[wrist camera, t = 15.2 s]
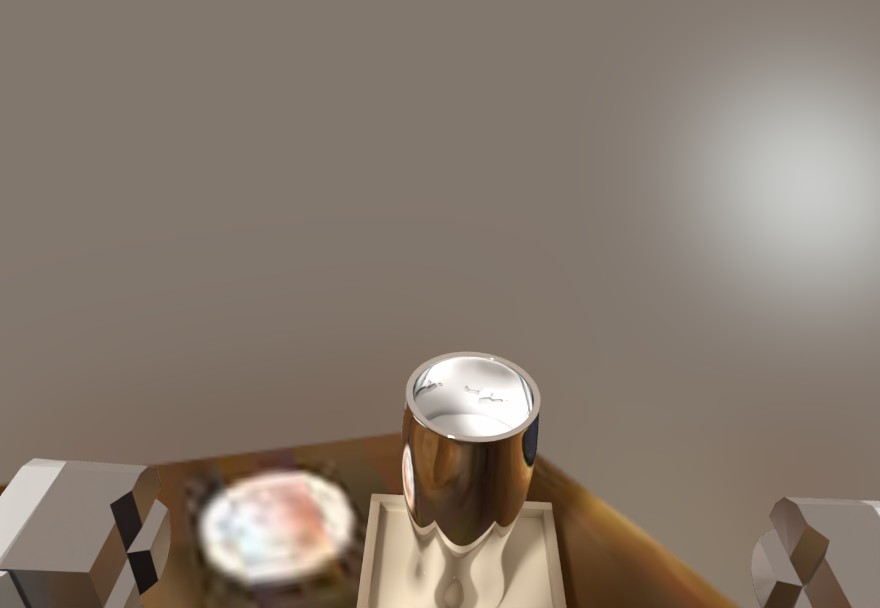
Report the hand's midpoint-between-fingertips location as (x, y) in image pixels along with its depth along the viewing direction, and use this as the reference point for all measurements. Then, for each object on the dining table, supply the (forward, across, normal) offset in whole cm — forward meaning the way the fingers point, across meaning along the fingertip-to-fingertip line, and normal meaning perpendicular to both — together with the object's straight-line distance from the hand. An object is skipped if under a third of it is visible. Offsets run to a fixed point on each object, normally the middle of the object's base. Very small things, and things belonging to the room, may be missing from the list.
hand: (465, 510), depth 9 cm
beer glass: (+19, +2, -30) cm, 35 cm away
